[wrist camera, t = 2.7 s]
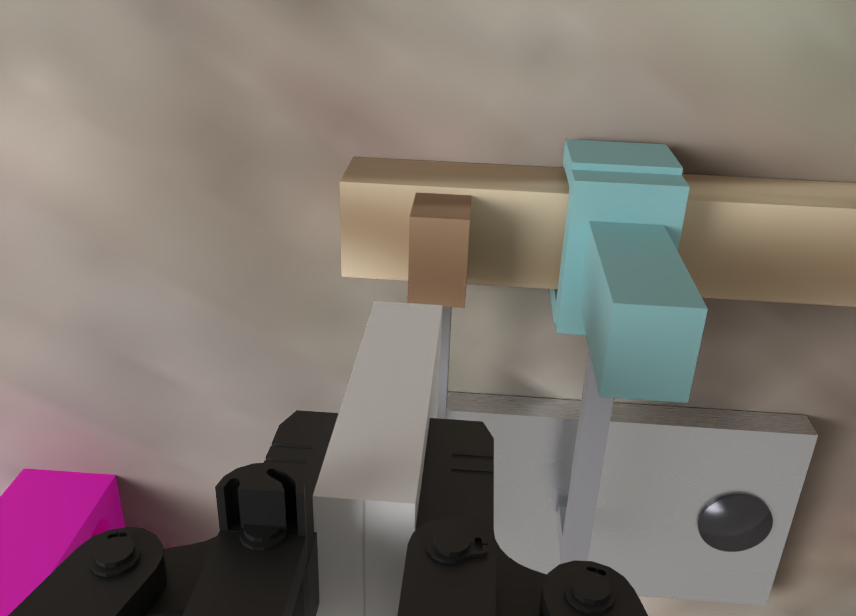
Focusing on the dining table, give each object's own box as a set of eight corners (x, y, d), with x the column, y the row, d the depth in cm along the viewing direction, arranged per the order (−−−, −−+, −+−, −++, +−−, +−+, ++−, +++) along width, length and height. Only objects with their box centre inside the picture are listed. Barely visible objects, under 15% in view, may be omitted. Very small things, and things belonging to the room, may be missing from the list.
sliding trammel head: (565, 139, 24) (597, 245, 17) (666, 144, 24) (744, 254, 17) (525, 503, 31) (536, 698, 23) (604, 508, 30) (641, 706, 23)
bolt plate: (355, 385, 29) (350, 406, 28) (805, 415, 28) (819, 437, 27) (357, 552, 33) (352, 576, 32) (756, 582, 32) (767, 608, 31)
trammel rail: (353, 157, 25) (326, 205, 21) (873, 183, 25) (947, 239, 21) (356, 484, 31) (336, 569, 27) (776, 514, 30) (820, 607, 26)
